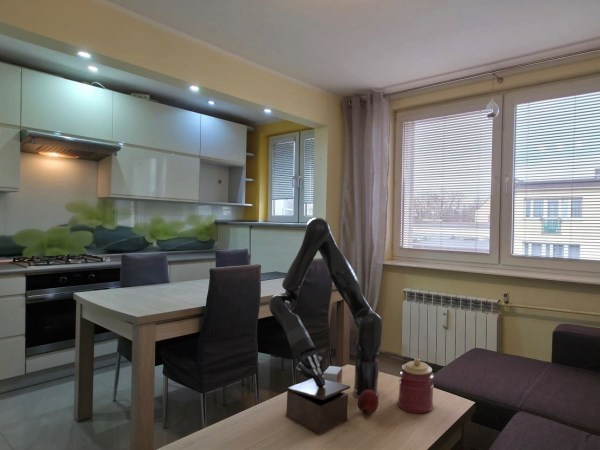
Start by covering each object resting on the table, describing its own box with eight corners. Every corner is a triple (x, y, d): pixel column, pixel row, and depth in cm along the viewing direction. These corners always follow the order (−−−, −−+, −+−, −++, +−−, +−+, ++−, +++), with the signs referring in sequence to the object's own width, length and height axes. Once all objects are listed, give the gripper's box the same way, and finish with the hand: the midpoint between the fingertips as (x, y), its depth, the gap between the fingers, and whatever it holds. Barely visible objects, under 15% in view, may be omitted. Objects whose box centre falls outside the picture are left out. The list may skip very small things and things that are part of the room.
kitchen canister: (404, 395, 151) (406, 350, 151) (436, 402, 146) (438, 357, 146) (392, 408, 140) (395, 360, 140) (427, 417, 134) (429, 367, 134)
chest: (347, 420, 130) (348, 394, 130) (319, 434, 120) (320, 406, 120) (313, 403, 140) (314, 379, 140) (286, 416, 131) (287, 390, 131)
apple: (382, 414, 135) (383, 391, 135) (365, 420, 130) (366, 397, 130) (369, 406, 141) (370, 384, 141) (352, 411, 136) (353, 389, 136)
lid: (350, 388, 129) (350, 385, 129) (322, 400, 119) (322, 397, 120) (315, 379, 140) (315, 377, 141) (287, 390, 131) (287, 387, 131)
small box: (335, 402, 142) (337, 374, 142) (321, 400, 143) (323, 372, 143) (341, 393, 150) (342, 367, 150) (328, 391, 151) (329, 365, 151)
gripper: (291, 339, 130) (313, 386, 122) (319, 332, 140) (341, 375, 132) (280, 351, 133) (301, 397, 125) (309, 343, 143) (330, 386, 136)
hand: (322, 386), depth 129 cm, fingers closed
